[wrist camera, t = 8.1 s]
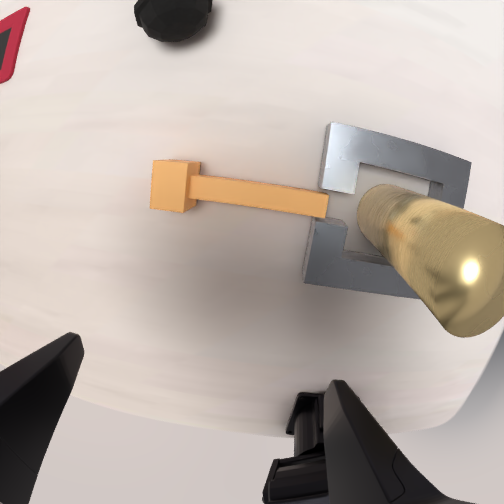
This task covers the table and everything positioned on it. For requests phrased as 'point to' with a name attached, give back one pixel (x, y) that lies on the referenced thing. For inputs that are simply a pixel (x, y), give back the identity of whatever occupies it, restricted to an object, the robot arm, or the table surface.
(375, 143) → the frame
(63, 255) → the table surface
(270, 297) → the table surface
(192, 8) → the microphone
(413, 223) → the ball
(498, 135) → the table surface
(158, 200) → the pin
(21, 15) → the handheld gaming console
